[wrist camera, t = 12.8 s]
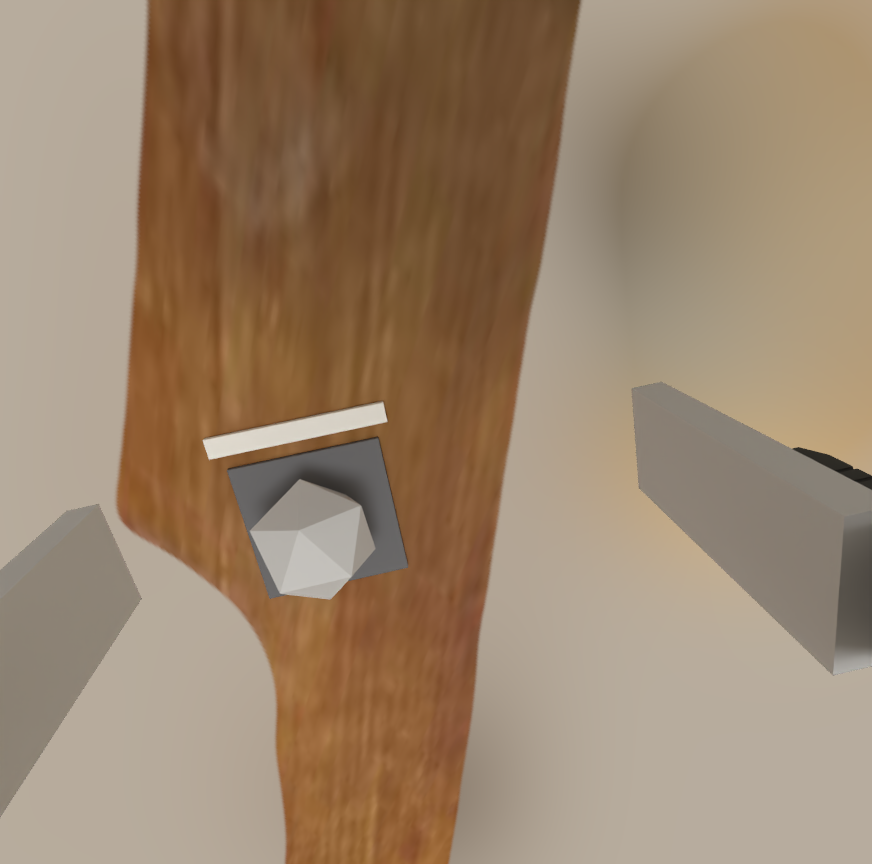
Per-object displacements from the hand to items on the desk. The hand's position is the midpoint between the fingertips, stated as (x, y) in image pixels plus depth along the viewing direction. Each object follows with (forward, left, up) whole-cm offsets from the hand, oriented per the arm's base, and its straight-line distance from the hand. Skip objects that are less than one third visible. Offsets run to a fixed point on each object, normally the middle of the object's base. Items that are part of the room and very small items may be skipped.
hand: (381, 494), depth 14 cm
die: (+7, +14, -30) cm, 34 cm away
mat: (+7, +13, -30) cm, 34 cm away
